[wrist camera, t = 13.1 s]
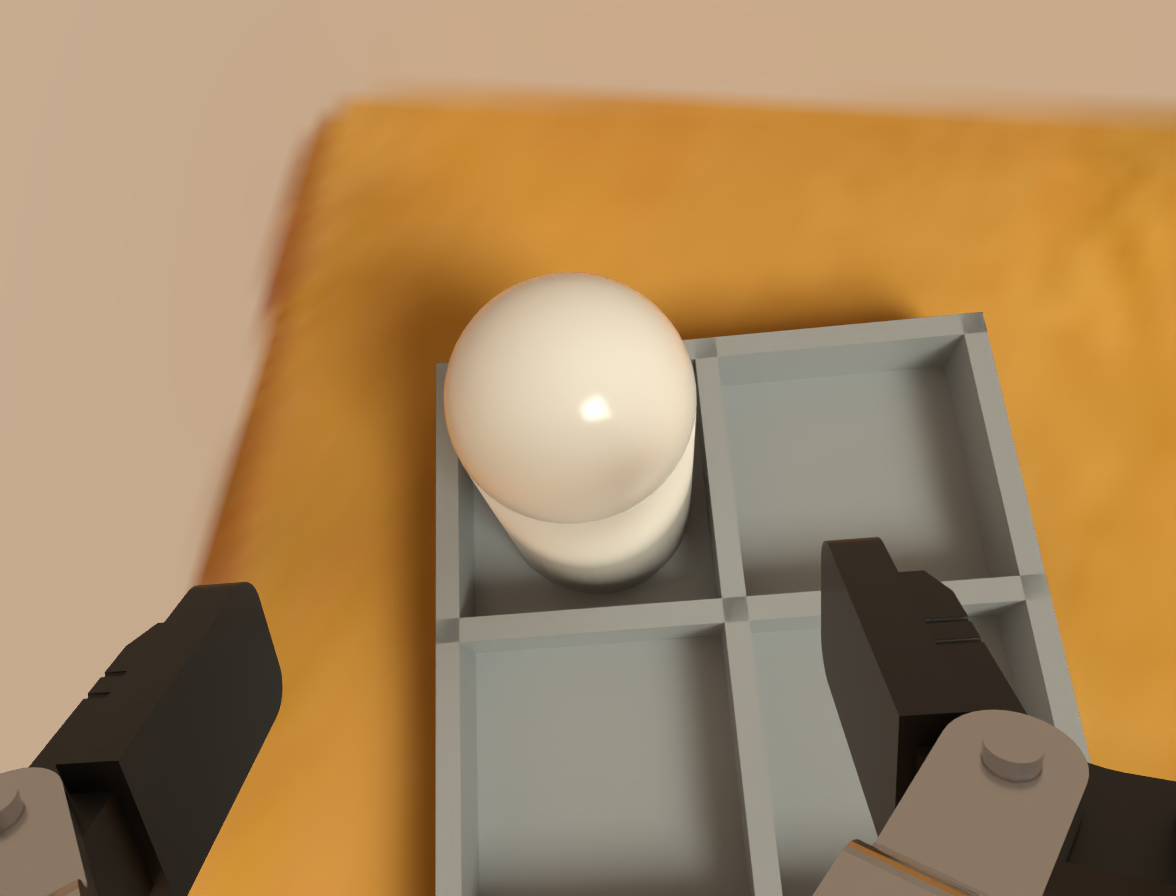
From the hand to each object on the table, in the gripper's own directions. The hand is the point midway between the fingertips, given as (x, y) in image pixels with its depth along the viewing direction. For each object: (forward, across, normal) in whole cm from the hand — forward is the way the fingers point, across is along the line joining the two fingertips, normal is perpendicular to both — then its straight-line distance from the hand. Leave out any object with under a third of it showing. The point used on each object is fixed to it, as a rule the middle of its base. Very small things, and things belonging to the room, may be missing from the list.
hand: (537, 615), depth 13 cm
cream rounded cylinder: (+12, 0, +5) cm, 13 cm away
